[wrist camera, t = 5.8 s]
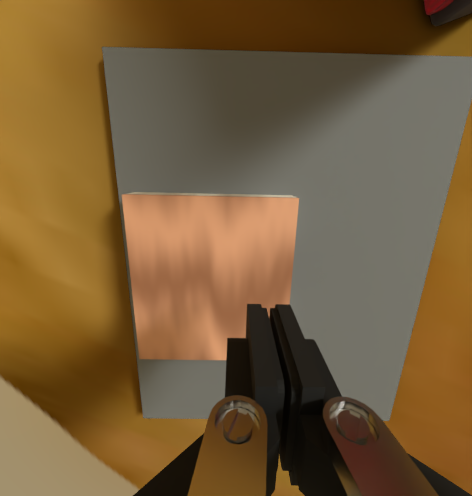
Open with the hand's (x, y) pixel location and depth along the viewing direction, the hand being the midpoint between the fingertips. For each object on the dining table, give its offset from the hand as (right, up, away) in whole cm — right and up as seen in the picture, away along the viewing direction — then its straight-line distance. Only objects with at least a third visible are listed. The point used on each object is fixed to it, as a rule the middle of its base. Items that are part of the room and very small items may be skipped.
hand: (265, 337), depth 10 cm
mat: (+1, +2, +7) cm, 7 cm away
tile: (+2, +1, +5) cm, 6 cm away
